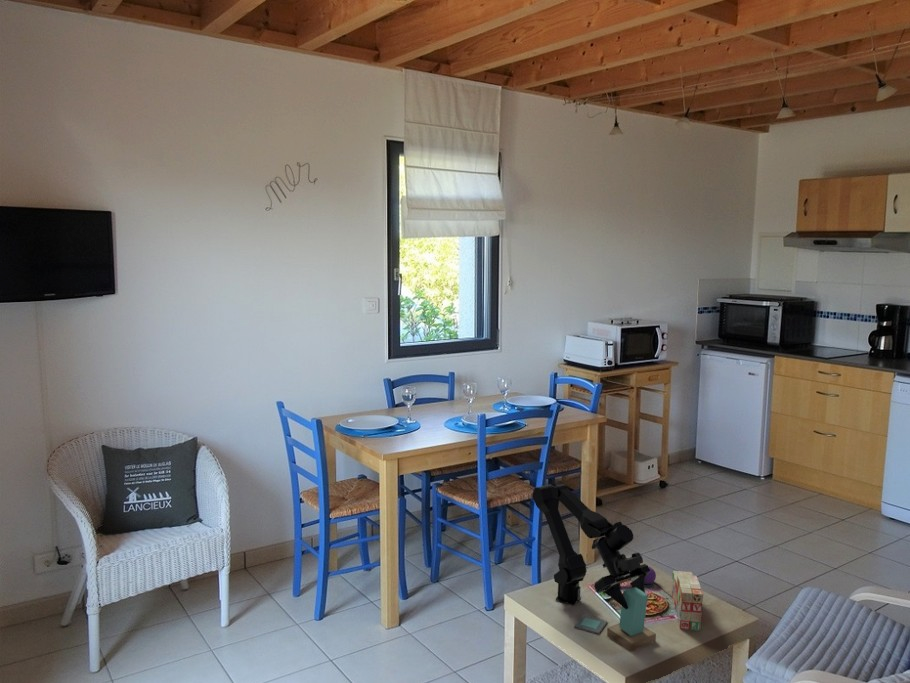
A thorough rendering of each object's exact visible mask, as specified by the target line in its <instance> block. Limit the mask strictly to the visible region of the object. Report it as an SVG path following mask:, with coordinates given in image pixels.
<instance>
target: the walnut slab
mask: <svg viewBox="0 0 910 683" xmlns="http://www.w3.org/2000/svg"><path fill="white" fill-rule="evenodd" d="M619 624H620V622H619V623H616V624H614V625H611V626H608V627H607V628H606V636H607V637H609V638H610V639H611V640H613V641H615V642H616V643H618V644H619V645H621V646H623V647H624V648H626V649H627V650H629V651H631V652H635V651H636V650H638V649H641V648H644V647H645V646H648V645H650V643H651V644H653V643H656V640H657V638H656V637H657V633H655V632H654V631H652V630H651V629H649V628H647V627H646V626H644V630H643V632H642V633H639V634H636V635H633V636H630V635H629V634H628V633H626V632H625V631H623V630H622V629H621V628H619ZM652 642H653V643H652Z"/></svg>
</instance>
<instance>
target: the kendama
mask: <svg viewBox="0 0 910 683" xmlns="http://www.w3.org/2000/svg"><path fill="white" fill-rule="evenodd" d="M648 567H649V569H650V571H651V572H649V573H648V574H647V576H646V577H645V579H644V583H645V584H644V585H651V584H653V583H654V582H655V581H656V579H657V574H656V571H655V570H654V569H653V568H652V567H651V566H648ZM625 582H632V580H631V579H627V580H624V581H621V582H618V583H620V584H623V583H625ZM618 583H617V584H618Z"/></svg>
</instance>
